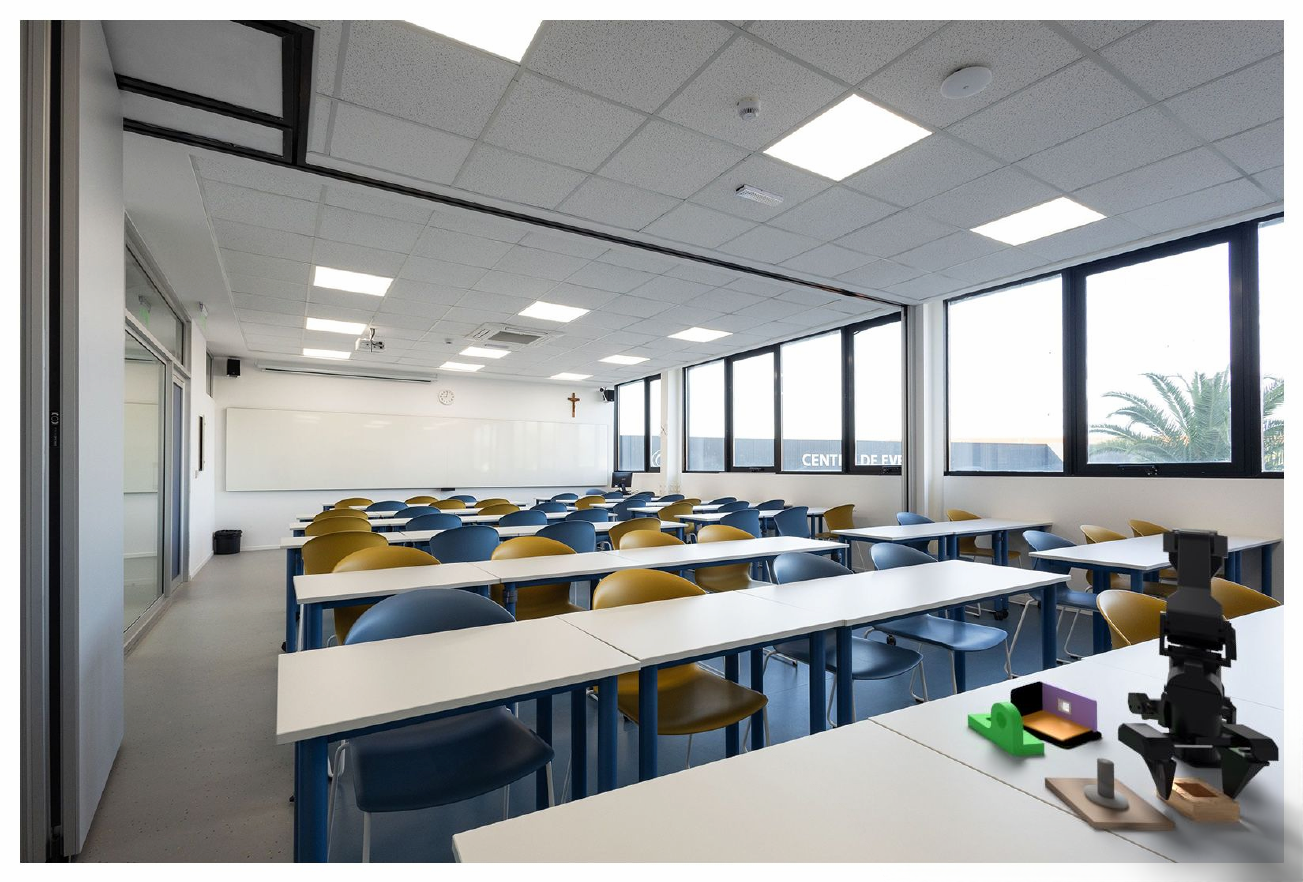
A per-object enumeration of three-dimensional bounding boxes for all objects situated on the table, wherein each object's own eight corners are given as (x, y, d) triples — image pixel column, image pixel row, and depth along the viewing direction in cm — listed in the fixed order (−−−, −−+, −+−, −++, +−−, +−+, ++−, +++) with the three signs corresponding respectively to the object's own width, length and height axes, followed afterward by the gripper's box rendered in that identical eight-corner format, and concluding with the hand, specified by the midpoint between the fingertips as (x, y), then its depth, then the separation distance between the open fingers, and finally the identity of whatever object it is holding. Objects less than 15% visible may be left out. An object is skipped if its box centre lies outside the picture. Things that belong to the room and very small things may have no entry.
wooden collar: (1199, 797, 90) (1199, 778, 90) (1239, 824, 84) (1239, 803, 84) (1156, 797, 90) (1156, 777, 90) (1193, 823, 84) (1192, 802, 84)
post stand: (1116, 787, 93) (1115, 743, 93) (1175, 834, 82) (1175, 783, 82) (1044, 786, 93) (1044, 742, 93) (1094, 832, 82) (1093, 782, 82)
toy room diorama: (1038, 710, 120) (1038, 677, 120) (1105, 736, 110) (1104, 699, 110) (1001, 723, 115) (1000, 688, 115) (1066, 751, 104) (1066, 713, 104)
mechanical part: (1044, 754, 103) (1043, 708, 103) (1013, 756, 103) (1012, 710, 103) (996, 722, 115) (995, 681, 115) (967, 724, 115) (967, 683, 115)
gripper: (1210, 672, 95) (1211, 769, 95) (1091, 671, 96) (1092, 768, 95) (1281, 702, 84) (1283, 813, 84) (1146, 701, 84) (1148, 810, 84)
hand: (1196, 798), depth 87 cm, fingers open, 9 cm apart
